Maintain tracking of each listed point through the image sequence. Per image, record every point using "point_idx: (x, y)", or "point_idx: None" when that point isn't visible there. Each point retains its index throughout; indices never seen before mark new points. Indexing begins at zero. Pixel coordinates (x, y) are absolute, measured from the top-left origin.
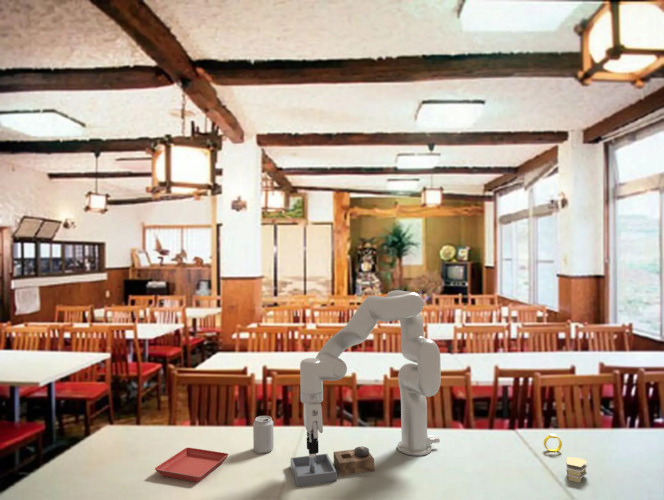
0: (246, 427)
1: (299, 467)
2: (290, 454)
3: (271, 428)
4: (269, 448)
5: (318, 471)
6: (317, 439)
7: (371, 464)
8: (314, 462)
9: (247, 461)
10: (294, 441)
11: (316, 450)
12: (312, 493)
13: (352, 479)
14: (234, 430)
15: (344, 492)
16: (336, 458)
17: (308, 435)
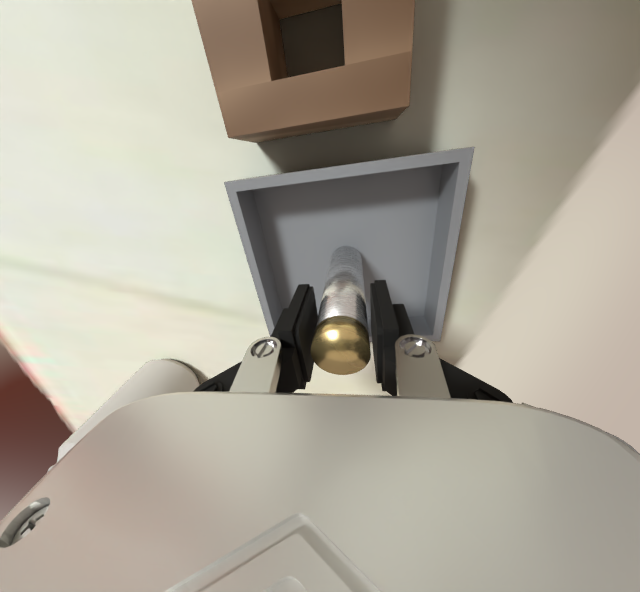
0: (54, 395)
1: None
2: (191, 314)
3: None
4: (183, 375)
5: (343, 234)
6: (438, 361)
7: None
8: (362, 272)
9: None
10: (85, 293)
11: (403, 304)
12: (508, 274)
13: (473, 26)
14: (84, 415)
15: (597, 114)
16: (310, 124)
17: (293, 392)
